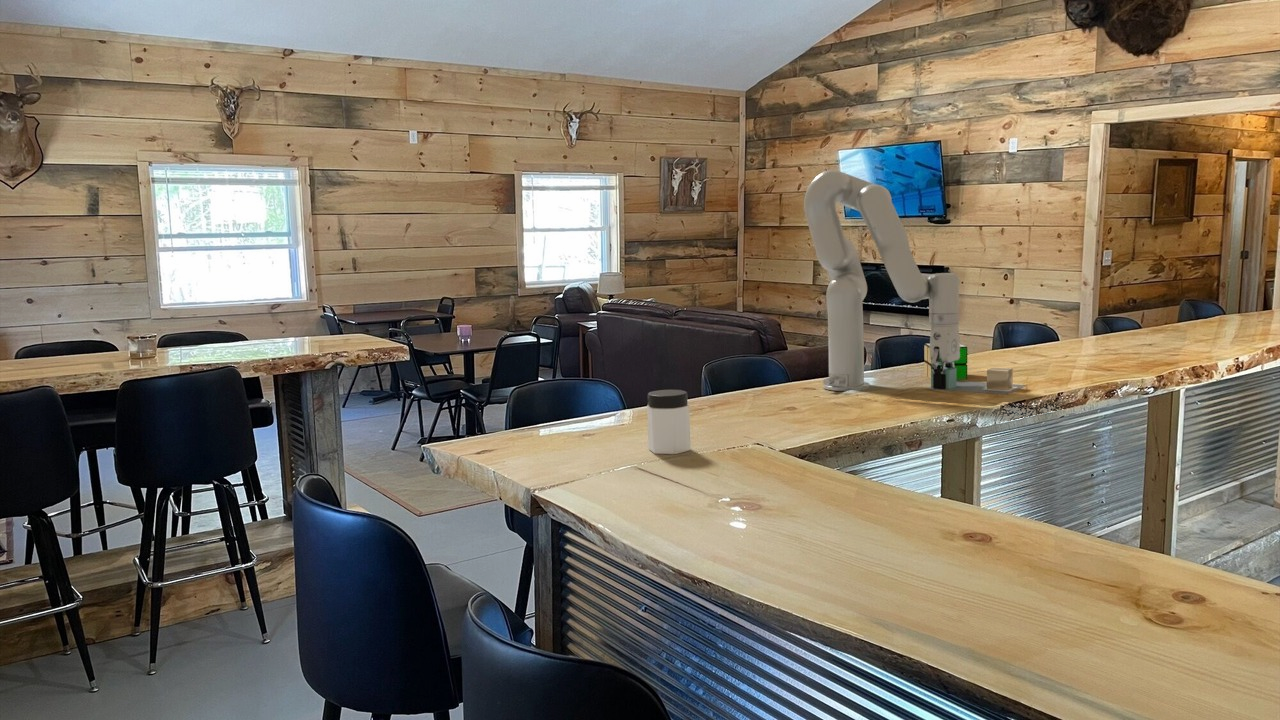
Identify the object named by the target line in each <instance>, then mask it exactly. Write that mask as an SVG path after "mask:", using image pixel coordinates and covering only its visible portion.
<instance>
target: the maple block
mask: <svg viewBox="0 0 1280 720" xmlns="http://www.w3.org/2000/svg"><path fill="white" fill-rule="evenodd" d="M1013 371H1014V368H1010V367H1009V368H1008V367H991V368H989V369H987V370H986V383H987V389H995V390H1008V389H1010V388H1012V386H1013V377H1014V376H1013V375H1014V374H1013Z"/></svg>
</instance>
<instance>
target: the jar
mask: <svg viewBox="0 0 1280 720" xmlns="http://www.w3.org/2000/svg"><path fill="white" fill-rule="evenodd" d="M688 403H689V401H688V392H687V391H685V390H681V389H661V390H654V391H649V392H648V393H647V405H646V413H647V414H646V417H647V435H648V436H647V441H648V445H647V446H648V450H650V452H651V453H653V454H655V455H679V454H681V453H682V454H683V453H686V452H690V451H691V447H692V446H691V425H690V424H691V420H690V418H691V417H690V405H688Z"/></svg>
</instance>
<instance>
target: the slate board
mask: <svg viewBox="0 0 1280 720" xmlns="http://www.w3.org/2000/svg"><path fill="white" fill-rule="evenodd" d="M1027 386H1028V385H1027V384H1013V386H1012V388H1010V389H1008V390H995V389H987V382H986V381H985V382H983V381H965V380H956V387H954V388H951V389H936V390H939V391H953V392H954V391H955V392H967V393H977V394H978V393H980V394H981V393H982V394H992V395H995V394H996V395H1005V396H1007V395H1010V394H1013V393H1014V392H1016V391H1018V390H1020V389H1023V388H1024V387H1027ZM926 389H927V390H935V389H934V388H931V386H930V387H928V388H926Z"/></svg>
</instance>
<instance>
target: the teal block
mask: <svg viewBox="0 0 1280 720" xmlns="http://www.w3.org/2000/svg"><path fill="white" fill-rule="evenodd" d="M944 374H946V389H951V388H954V387H956V381H957V379H956V368H946V367H945V372H944ZM930 387H931V388H933V369H931V379H930Z"/></svg>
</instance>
